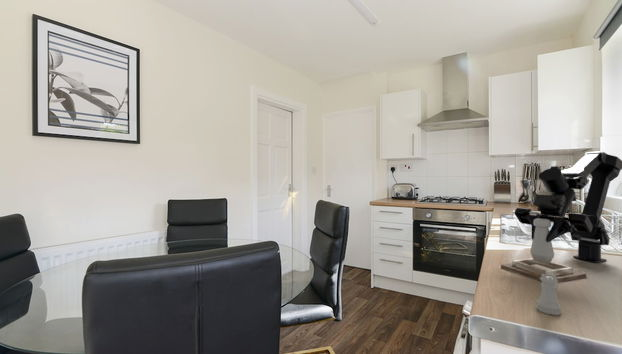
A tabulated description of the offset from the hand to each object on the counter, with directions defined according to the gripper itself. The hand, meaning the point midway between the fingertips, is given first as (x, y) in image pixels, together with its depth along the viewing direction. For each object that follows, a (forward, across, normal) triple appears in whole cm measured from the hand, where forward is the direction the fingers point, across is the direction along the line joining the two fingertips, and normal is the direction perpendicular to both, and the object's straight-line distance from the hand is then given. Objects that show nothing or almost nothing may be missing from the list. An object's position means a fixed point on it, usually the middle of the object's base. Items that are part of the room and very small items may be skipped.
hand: (539, 239), depth 87 cm
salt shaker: (+4, 0, +6) cm, 7 cm away
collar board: (+6, 0, +8) cm, 10 cm away
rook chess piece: (+26, +14, -11) cm, 32 cm away
